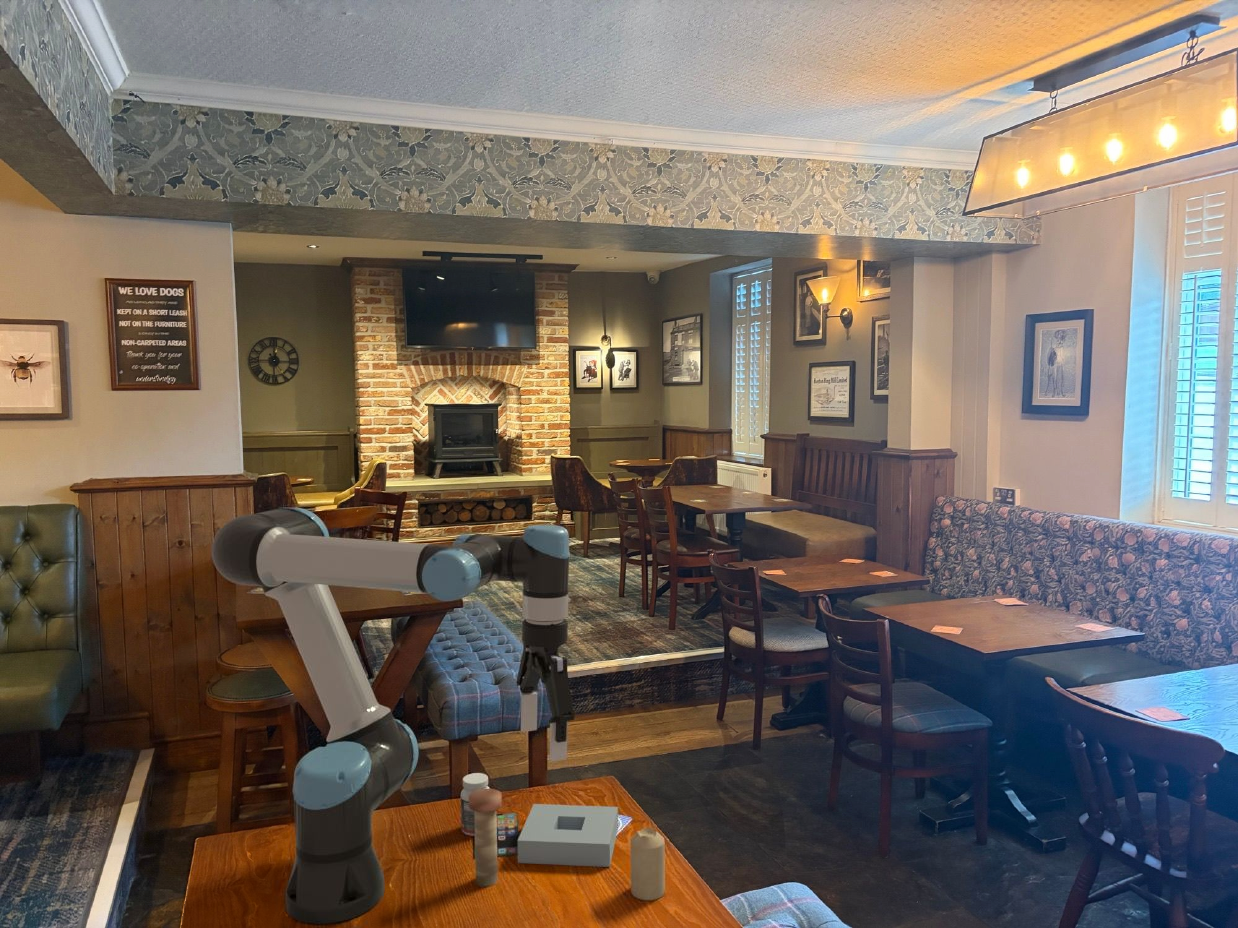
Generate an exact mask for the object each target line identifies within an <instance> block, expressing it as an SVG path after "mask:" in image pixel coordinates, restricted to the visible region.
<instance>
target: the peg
mask: <svg viewBox="0 0 1238 928" xmlns="http://www.w3.org/2000/svg"><path fill="white" fill-rule="evenodd" d="M502 798H503V795H502V792H501V791H499V790H497V789H495V788H490V789H480V790H476V791H474V792H472V793H471V794H470V795H469V808H470V809H471V810H473V811H474V819H475V836H474V845H475V859H474V862H475V863H474V865H475V870H474V871H475V884H476V885H477V886H479V887H484V888H485V887H490V886H493V885H495V884H497V883H498V880H499V879H498V857H497V820H496V814H497V810H498V809H499V808H500V807H502V804H503V802H502V801H503V800H502Z"/></svg>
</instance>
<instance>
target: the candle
mask: <svg viewBox="0 0 1238 928" xmlns="http://www.w3.org/2000/svg"><path fill="white" fill-rule="evenodd" d="M665 845H666V844H665V838H664V837H663V835H661V834H660V833H659V832H658V831H657V830H656V829H654V827H644V828H642V829H641V830H637V831H636V833H635V834H634V835H633V836H632V837H631V838H630V891H631V894H632V896H633V897H635V898H636V899H639V900H642V901H656V900H658V899H660V898H661V897H663V896H664V895H665V891H666V872H665V871H666V863H665V859H666V854H665V853H666V849H665Z"/></svg>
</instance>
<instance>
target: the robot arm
mask: <svg viewBox="0 0 1238 928" xmlns="http://www.w3.org/2000/svg"><path fill="white" fill-rule="evenodd" d="M329 534H330V533H329V531H328V527H327V526H326V524H325V523H324V521H323V520H321V518H320V517H319V516H318V515H317V514H315V513H314V512H312V511H311V510H307V509H306V508H301V507H279V508H276V509H272V510H267V511H262V512H257V513H251V514H245V515H240V516H237V517H234V518H233V519H230V520H229V521H227V522H226V523H225V524H223V526H222V527H221V528H220V529H219V530H218V531H217V533H216V534H215V536H214V538H213V540H212V546H211V558H212V562H213V564H214V566H215V569H216V570H217V572H219V574H220V575H221V576H222V577H223V578H224V579H226V580H228V581H229V582H231V583H234V584H237V585H240V586H252V587H253V586H254V587H255V586H256V587H257V586H258V587H261V588H262V590H263V591H262V592H263V594H264V595H265V596H267V597H269V598H271V599H274V600H276V601H277V602H278V605H279V607H280V609H281V611H282V614H283V616H284V618H285V621H286V624H287V626H288V628H289V631H290V633H291V635H292V637H293V639H294V643H295V645H296V647H297V649H298V652H299V654H300V656H301V658H302V661H303V663H304V666H305V668H306V671H307V672H308V675H309V678H310V681H311V682H312V685H313V688H314V689H315V692H316V694H317V697H318V699H319V702H320V704H321V706H322V709H323V711H324V713H325V716H326V718H327V720H328V722H329V726H330V729H329V730H328V731H329V732H328V735H327V736H326V742H327V744H326V746H318V747H316V748H315V749H312V750H311V751H309V752H307V753H306V754H305V755H304V756H302V757H301V759H300V760H299V761H298V763H297V764H296V766H295V769H294V774H293V784H292V795H293V804H294V806H293V808H294V834H295V859H294V862H293V866H292V869H291V872H290V876H289V878H288V879H289V880H288V883H287V886H286V889H285V910H286V913H287V914H288V915H289V916H290V917H291V918H292V919H294V920H296V921H298V922H301V923H306V924H311V925H312V924H313V925H324V924H325V925H327V924H334V923H339V922H344V921H347V920H351V919H353V918H356V917H359V916H361V915H362V914H364V913H366V912H368V911H369V910H371V909H372V908H374V907H375V906H376V905H377V904H378V903H379V902H380V901H381V900H382V898H383V896H384V893H385V876H384V871H383V870H382V867H381V864H380V861H379V859H378V855H377V853H376V851H375V848H374V846H373V830H372V829H373V828H372V827H373V826H372V813H373V811H375V810H376V809H377V808H378V807H379V806H380V805H382V804H383V803H384V802H385V801H386V800H388V798H389V797H390V796H391V795H393V794H394V793H395V792H397V791H398V790H400V789H401V788H402V787H403V786H404V785H405V784H406V782H407V781H408V780H409V779H410V777H411V776H412V774H413V773H414V771H415V770H416V767H417V765H418V760H419V744H418V740H417V738H416V735H415V734H414V731H413V729H411V728H410V726H408V725H407V723H403V722H402V721H401V720H400V719H396V718H395V717H394V715H393V713H392V711H391V708H390V707H388V706H385V705H382V704H380V703H379V702H378V700H377V698H376V695H375V693H374V691H373V688H372V687H371V684H370V682H369V679H368V677H367V674H366V673H365V669H364V668H363V665H362V663H361V660H360V658H359V655H358V653H357V651H356V649H355V647H354V644H353V641H352V639H351V636H350V634H349V631H348V630H347V627H346V625H345V622H344V620H343V618H342V614H341V613H340V611H339V608H338V605H337V603H336V601H335V598H334V597H333V594H332V592H331V590H330V587H329V586H336V587H347V588H348V587H349V588H361V589H363V588H364V589H373V590H385V591H386V590H387V591H396V592H397V591H398V592H399V591H400V592H408V593H409V592H410V593H420V594H421V593H422V594H429V595H430V596H432V597H433V598H435V599H436V600H438V601H442V602H452V601H455V600H461V599H464V598H466V597H467V596H469V595H470V594H472V593H473V592H475V591H477V590H478V589H480V588H482V587H484V586H486V585H488V584H490V583H492V582H509V583H510V582H511V583H522V597H521V598H522V603H521V604H522V605H521V607H522V608H521V616H522V618H524V620H523V621H522V622H521V623H522V625H521V631H522V632H521V639H522V640H521V641H522V644H523V645H522V647H523V648H522V649H523V650H522V655H521V658H520V662H519V663H520V664H519V667H518V673H517V677H516V683H515V684H516V686H518V687H519V691H520V693H521V695H520V696H521V697H520V699H521V700H520V731H521V733H527V732H533V731H537V730H538V691H540V689H539V682H541V683H542V684H544V687H545V691H546V696H547V699H548V704H549V708H550V713H551V717H550V718H549V720H548V723H549V757H548V758H549V759H548V760H549V761H550V762H551V763H553V762H559V761H565V760H567V759H568V727H569V725H568V724H569V723H568V722H572V721H574V720H575V713H574V706H573V705H574V704H573V699H572V694H571V693H572V692H571V687H570V680H569V674H568V673H569V672H568V659H567V658H568V657H566V656H561V657H560V655H559V649H560V647H561V646H563V645H565V644H566V643H567V642H568V635H569V634H568V633H569V632H568V630H569V628H568V627H569V625H568V624H569V623H568V622H569V621H567V619H566V618H567V617H568V615H569V613H568V612H569V611H568V610H569V603H571V598H570V596H569V579H570V578H569V575H570V574H569V573H570V572H569V571H570V557H571V552H570V541H569V540H570V537H569V535H570V534H569V531H568V530H567V529H566V528H565V527H564V526H561V525H555V524H533V525H528V526H526V527H525V528H524V530H523V534H522V536H507V535H495V534H494V535H492V534H482V533H477V532H476V533H473V534H472V533H471V534H469V533H466V534H465V533H464V534H463V533H462V534H460V535H457V537H456V538H455V541H454V542H453V543H452V545H443V544H429V543H428V544H427V543H415V542H401V541H389V540H388V541H387V540H378V539H377V540H374V539H361V538H360V539H359V538H346V537H332V536H330V535H329ZM536 691H537V692H536Z"/></svg>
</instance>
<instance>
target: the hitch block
mask: <svg viewBox="0 0 1238 928" xmlns="http://www.w3.org/2000/svg"><path fill="white" fill-rule="evenodd" d="M618 829H619V807H618V806H601V805H599V806H597V805H595V806H594V805H576V804H575V805H573V804H570V805H569V804H549V803H548V804H546V803H542V804H541V803H533V804H532V807H531V809H530V811H529V814H528V816H527V818H526V821H525V823H524V825H523V827H522V829H521V832H520V833H519V838H518V855H517V864H535V865H537V864H538V865H555V866H556V865H557V866H558V865H559V866H560V865H561V866H577V867H579V866H580V867H581V866H582V867H599V868H601V867H604V868H605V867H606V868H610V867H611V863H612V859H613V858H612V857H613V854H614V849H615V844H616V839H617V835H618Z"/></svg>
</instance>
